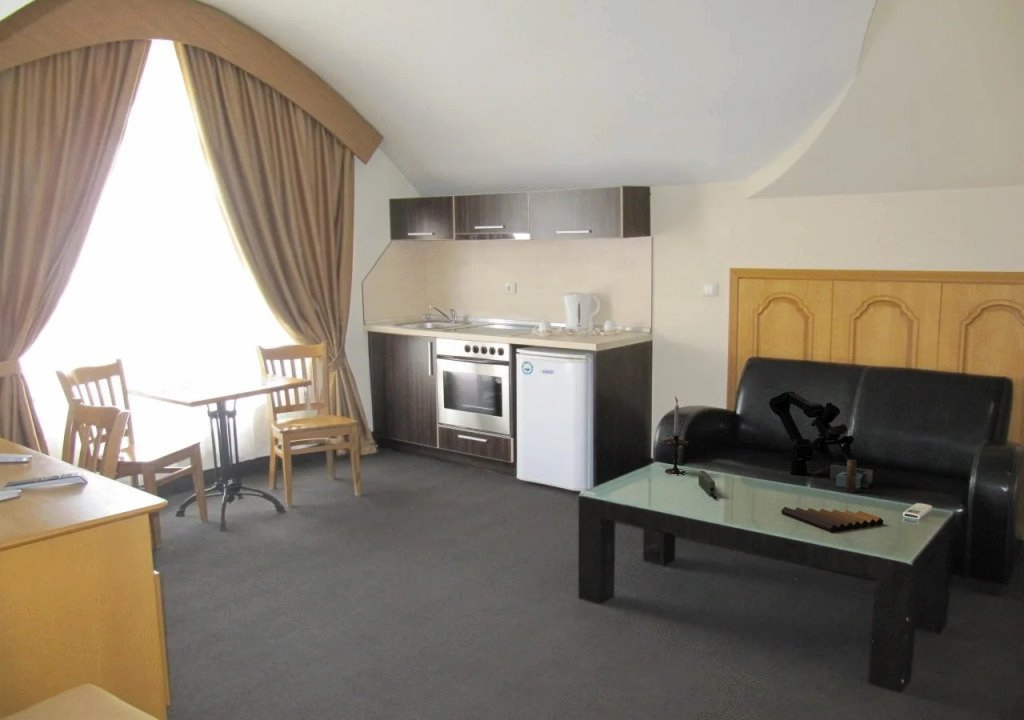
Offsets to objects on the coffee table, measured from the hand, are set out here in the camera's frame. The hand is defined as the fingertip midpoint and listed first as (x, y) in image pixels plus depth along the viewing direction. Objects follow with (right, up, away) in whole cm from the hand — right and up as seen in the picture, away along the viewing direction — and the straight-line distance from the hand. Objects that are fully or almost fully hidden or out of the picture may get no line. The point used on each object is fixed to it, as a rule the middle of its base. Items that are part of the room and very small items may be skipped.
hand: (841, 459), depth 363 cm
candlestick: (-64, -9, +28) cm, 71 cm away
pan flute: (-21, -18, -45) cm, 53 cm away
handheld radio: (-57, -13, -7) cm, 59 cm away
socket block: (+6, -12, +7) cm, 15 cm away
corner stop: (+7, -11, +10) cm, 16 cm away
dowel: (+2, -13, -5) cm, 14 cm away
